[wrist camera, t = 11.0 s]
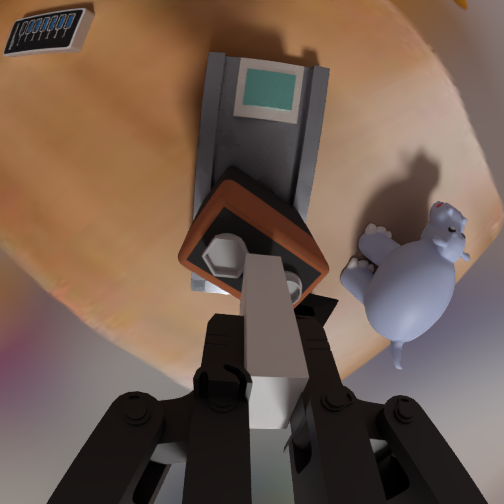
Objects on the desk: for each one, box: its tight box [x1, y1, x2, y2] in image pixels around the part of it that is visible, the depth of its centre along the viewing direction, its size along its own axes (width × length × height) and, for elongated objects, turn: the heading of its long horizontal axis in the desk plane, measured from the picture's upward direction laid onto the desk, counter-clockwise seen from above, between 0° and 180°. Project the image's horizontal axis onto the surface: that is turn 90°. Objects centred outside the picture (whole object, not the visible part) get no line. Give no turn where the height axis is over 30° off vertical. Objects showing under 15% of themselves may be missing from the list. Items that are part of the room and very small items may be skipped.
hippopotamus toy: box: [340, 201, 470, 369], centre depth 23 cm, size 11×15×10 cm
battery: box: [178, 166, 329, 309], centre depth 17 cm, size 4×7×10 cm, turn 53°
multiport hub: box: [3, 8, 95, 57], centre depth 14 cm, size 4×11×2 cm, turn 72°
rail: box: [191, 52, 330, 294], centre depth 21 cm, size 20×9×6 cm, turn 173°
